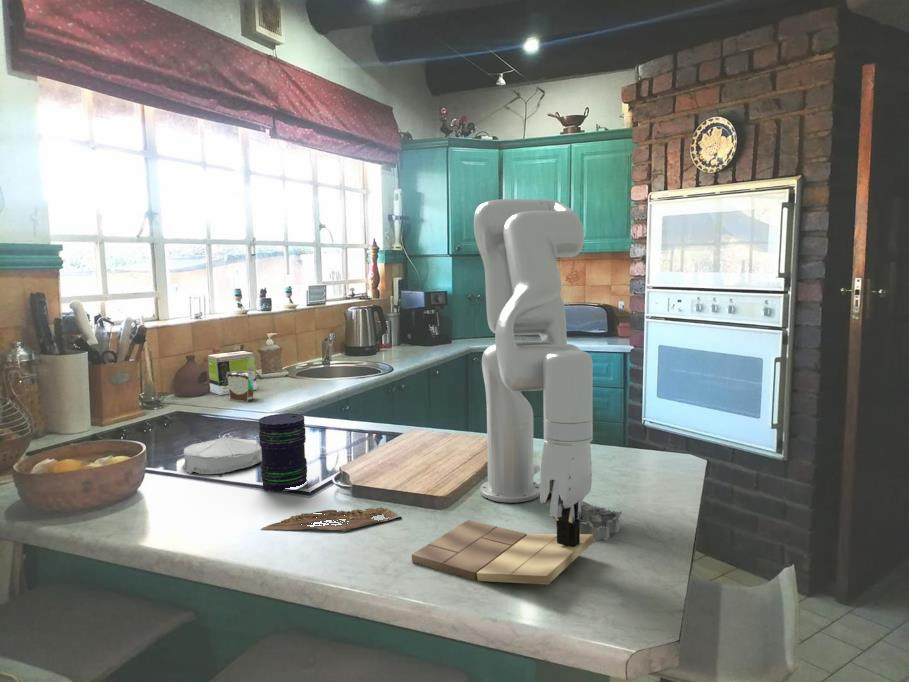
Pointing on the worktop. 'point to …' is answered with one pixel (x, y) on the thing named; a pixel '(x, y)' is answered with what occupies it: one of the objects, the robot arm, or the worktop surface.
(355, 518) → the wooden fragment
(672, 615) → the worktop surface
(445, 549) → the laid board
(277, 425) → the storage jar
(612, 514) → the egg carton
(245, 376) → the food container
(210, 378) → the tea box
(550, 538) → the plank
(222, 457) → the food container
